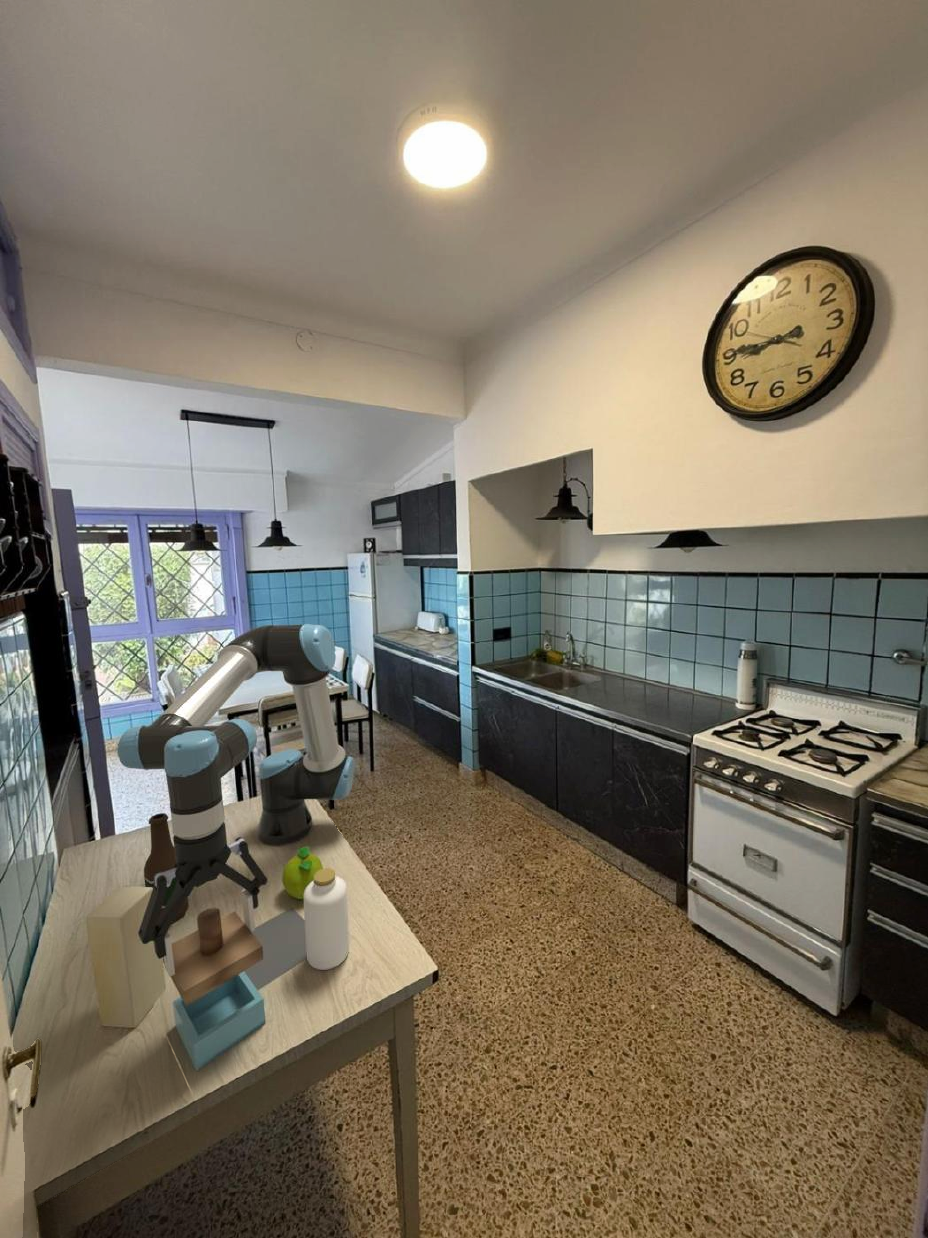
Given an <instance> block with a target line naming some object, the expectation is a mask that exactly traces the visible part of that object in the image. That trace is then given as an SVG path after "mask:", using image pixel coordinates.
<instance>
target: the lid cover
mask: <svg viewBox="0 0 928 1238" xmlns="http://www.w3.org/2000/svg"><path fill="white" fill-rule="evenodd" d="M196 919H197V930H196V931H194V932H192V933H189V934H188V935H186V936H184V937H182V938H180V939H178V940H176V941H174V942H171V943H172V952H173V960H174V969H175V974H174V975H172V976H171V977H170V978H171V980H172V982H173V984H174V986H175V988H176V990H177V992H178V993H179V997H181V998H182V1000H183V1002H184V1003H185V1005H186V1006H187V1005H189V1004H190V1003H192V1002H194V1001H195V1000H197V999H199V998H200V997H202V996H204V995H205V994H207V993H209V992H210V991H212V990H214V989H215V988H217V987H219V986H220V985H222V984H223V983H225V982H227V981H228V980H230V979H232V978H233V977H235V976H237V975H238V974H240V973H242V972H243V971H245V970H247V969H248V968H250V967H252V966H253V965H255V964H257V963H258V962H260V961H262V960H263V959H264V957H263V946H262V945H261V943H260V942H259V941H258V940H257V938H256V937H255V936H254V935H253V933H252V932H251V931H250V930H249V929H248V927H247V926H246V925H245V921H244V920H243V919H242V918H241V916H239V915H238V913H237V912H236V911H233V912H231V913H228V914H226V915H225V916H223V917H221V910H220V909H219V908H217V907H210V908H207V909H205V910H202V911H201V912H200V913H199V914H198V915H197V918H196ZM162 961H163V964H164V957H162Z"/></svg>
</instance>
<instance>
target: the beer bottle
mask: <svg viewBox="0 0 928 1238" xmlns="http://www.w3.org/2000/svg"><path fill="white" fill-rule="evenodd" d="M168 819H169V816H168V814H167V813H165V812H162V813H157V814H154V815H152V816H151V817H150V818H149V819H148V824H149V826H150V844H151V845H150V846H151V847H150V854H149V855H148V858H147V859H146V861H145V863H144V867H143V881H144V887H152V888H153V887H154V879H153V875H154V873H155V872H157V871H161V872H162V873H163V872H165V871H168V870H171V869H173V868H174V866H175V863H176V858H175V849H174V843H173V842H172V839H171V838H172V837H171V834H170V833H171V832H170V828H169V823H168ZM178 880H179V879H178V878H177V877H174V878H173V879H172V881H171V884H170V886H169V887H167V892H166V896H165V899H164V902H163V905H162V908H161V911H160V914H159V917H160V915H161V913H162V911H163V909H164V908H165V906H166V904H167V902H168V901H169V899H170V897H171V895H172V894H173V892H174V890H175V887H176V883H177V882H178ZM189 904H190V903H189V896H187V898H186V899H185V901H184V903H183V905H182V907H181V908H180V910H179V912H178V914H177V916H176V917H175V919H174V921H173V923H172V925H173V924H175V923H176V922H178V921H179V920H181V919H183V918H184V917H185V915H186V913H187V912H188V909H189ZM159 917H158V918H159Z"/></svg>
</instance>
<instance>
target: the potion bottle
mask: <svg viewBox="0 0 928 1238" xmlns="http://www.w3.org/2000/svg"><path fill="white" fill-rule="evenodd" d="M348 902H349V901H348V887H347V883H346V882H345V881H344V879H342V878H341V877H339V876H337V875H336V871H335V869H333V868H328V867H325V868H323V869H321V870H319V871H317V872H316V873H315V875H314V880H313V881H312V882H311V883H310V884H309V885H308V886H307V887H306V889H305V891H304V899H303V913H304V920H305V934H306V952H307V959H306V960H307V963H308V965H310V966H311V967H312V968H314V969H316V970H320V971H321V970H323V971H325V970H331V969H334V968H336V967H337V966H339V965H340V964H342V962H344V961H345V959H346V958H347V956H348V954H349V950H350V939H349V938H350V931H349V929H350V928H349V906H348V905H349V904H348Z"/></svg>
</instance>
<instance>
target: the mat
mask: <svg viewBox="0 0 928 1238" xmlns="http://www.w3.org/2000/svg"><path fill="white" fill-rule="evenodd" d="M252 933H253V935H254V936H255V937H256V938H257V940H258V941H259V942H260V943H261V945H262V946H263V957H264V959H263V960H262V961H260V962H258V963H257V964H255V965H253V966H252V967H250V968H248V969H247V970H245V971H244V972H245V973H246V975H247V976H248V978H249V979H250V980H251V982H252V983H253V985H254V986H255V988H256V989H257V990H258V991H259V990H261V989H262V988H264V987H265V986H267V985H268V984H270V983H272V982H273V981H274V980H276V979H278V978H279V977H282V976H283V975H284V974H286V973H287V972H289V971H290V970H291V969H293V968H295V967H296V966H298V965H300V964H301V963H303V962H304V961H306V960H307V952H306V934H305V918H303V916H301V914H299V913H298V911H296V909H294V907H290V908H288V909H286V910H285V911H283V912H281V913H279V914H278V915H275V916H274V917H272V918H270V919H268V920H267V921H265V922H262V923H261V924H260V925H258V926H255V930H254V931H252Z"/></svg>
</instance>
